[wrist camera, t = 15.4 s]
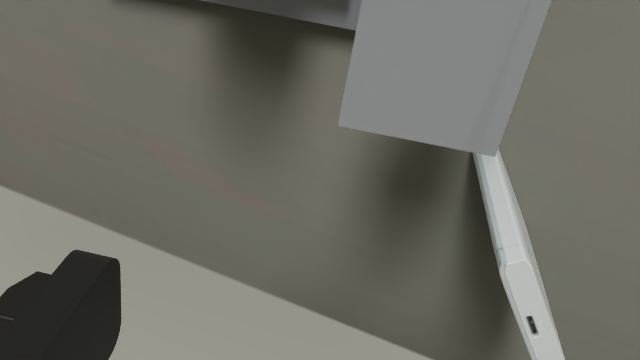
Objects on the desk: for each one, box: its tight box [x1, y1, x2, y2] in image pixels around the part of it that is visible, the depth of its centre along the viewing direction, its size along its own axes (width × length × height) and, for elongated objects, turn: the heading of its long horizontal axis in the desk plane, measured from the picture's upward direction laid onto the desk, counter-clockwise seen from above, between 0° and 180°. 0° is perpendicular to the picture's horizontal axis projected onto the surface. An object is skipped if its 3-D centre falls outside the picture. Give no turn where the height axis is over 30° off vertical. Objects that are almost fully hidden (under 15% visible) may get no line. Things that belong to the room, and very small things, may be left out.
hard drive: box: [473, 148, 565, 360], centre depth 34 cm, size 2×8×12 cm, turn 25°
